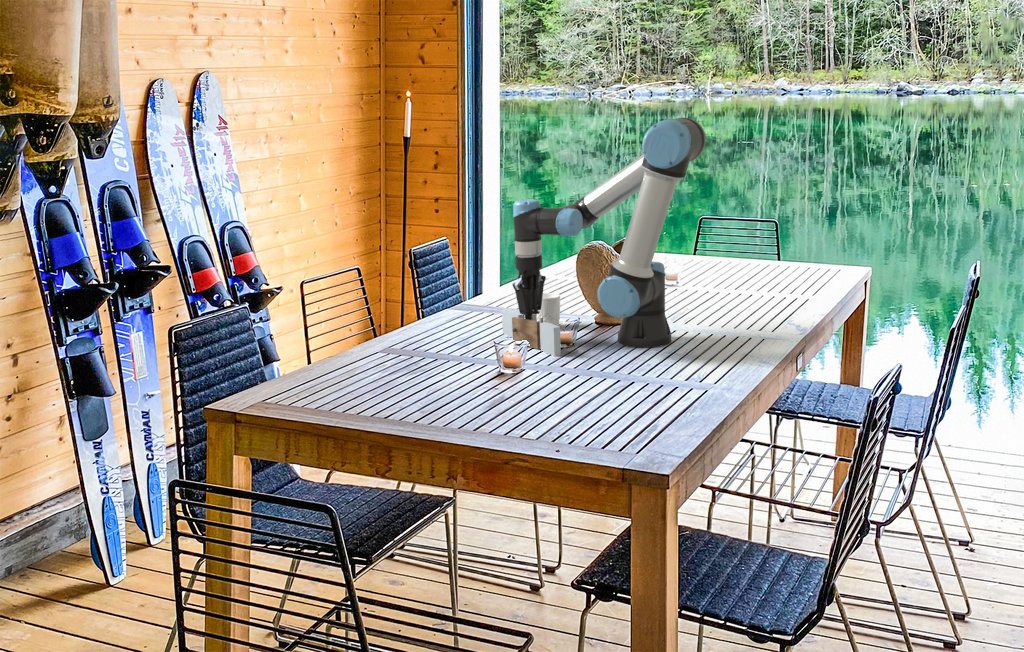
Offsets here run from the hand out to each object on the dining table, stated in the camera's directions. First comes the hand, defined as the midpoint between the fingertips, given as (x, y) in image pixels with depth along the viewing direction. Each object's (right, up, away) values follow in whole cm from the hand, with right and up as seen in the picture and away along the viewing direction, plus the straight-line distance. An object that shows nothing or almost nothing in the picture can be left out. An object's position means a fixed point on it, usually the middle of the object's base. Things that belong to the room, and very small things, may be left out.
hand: (531, 336), depth 317 cm
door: (-2, -3, -3) cm, 5 cm away
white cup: (+5, +2, +19) cm, 20 cm away
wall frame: (0, -3, -2) cm, 4 cm away
